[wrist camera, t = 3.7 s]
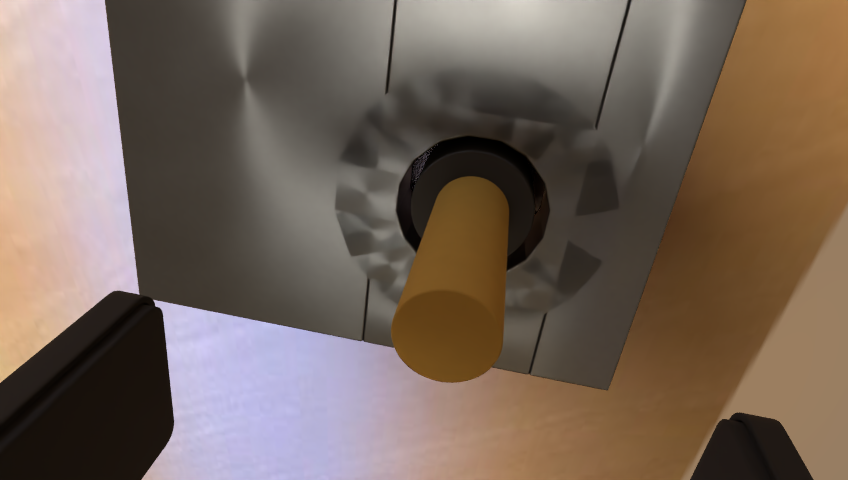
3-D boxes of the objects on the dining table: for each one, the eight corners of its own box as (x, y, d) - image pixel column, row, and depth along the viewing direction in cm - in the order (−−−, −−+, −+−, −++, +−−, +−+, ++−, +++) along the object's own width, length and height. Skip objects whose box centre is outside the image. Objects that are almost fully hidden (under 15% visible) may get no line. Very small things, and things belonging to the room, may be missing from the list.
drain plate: (785, -208, 15) (833, -240, 12) (599, 349, 23) (608, 391, 20) (128, -283, 16) (65, -323, 14) (174, 266, 24) (139, 297, 22)
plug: (544, 140, 19) (562, 275, 11) (520, 243, 21) (520, 427, 13) (429, 121, 20) (361, 237, 11) (415, 224, 22) (348, 391, 13)
